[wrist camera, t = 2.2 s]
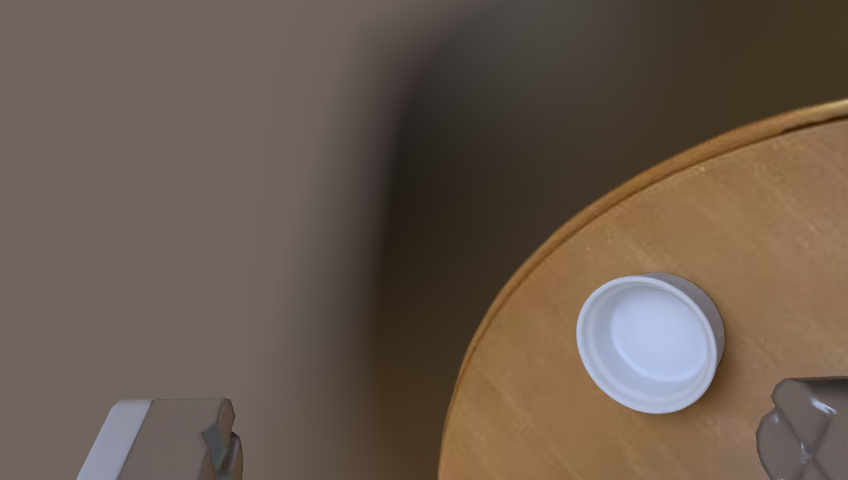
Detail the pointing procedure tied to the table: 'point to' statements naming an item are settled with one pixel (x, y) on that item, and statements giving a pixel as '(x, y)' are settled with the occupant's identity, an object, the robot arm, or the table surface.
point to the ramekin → (651, 341)
